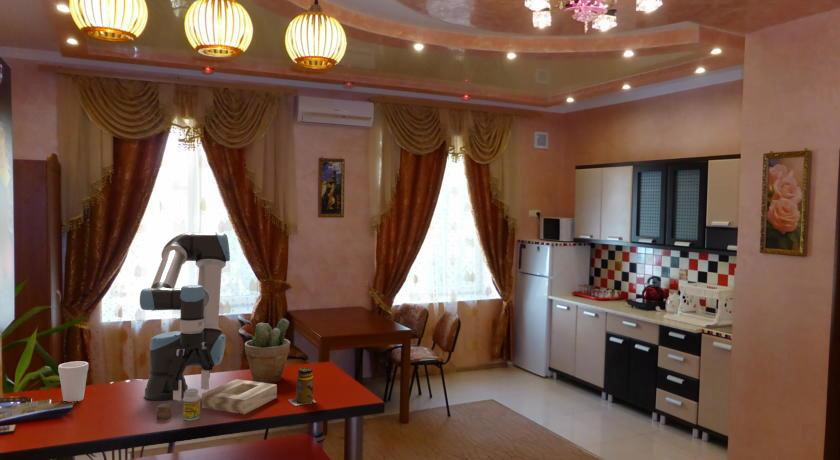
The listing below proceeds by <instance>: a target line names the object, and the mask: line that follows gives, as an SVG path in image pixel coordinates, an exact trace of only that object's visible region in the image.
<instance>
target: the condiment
mask: <svg viewBox="0 0 840 460" xmlns="http://www.w3.org/2000/svg"><path fill="white" fill-rule="evenodd" d="M312 399H313V400H312ZM288 402H290V404H292V405H293V406H296V407H297V406H300V405H308V404H314V403H317V401H316V400H315V399H314V376H313V369H312V368H310V367H300V368H299V369H297V377H296V398H290V399H288ZM312 402H313V403H312ZM297 403H298V404H297ZM299 403H300V404H299Z"/></svg>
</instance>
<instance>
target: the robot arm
mask: <svg viewBox="0 0 840 460" xmlns="http://www.w3.org/2000/svg"><path fill="white" fill-rule="evenodd" d="M229 245H230V244H229V237H228V235H227V233H223V232H215V231H214V232H190V231H188V232H184V233H181V234H178V235H177V236H174V237H173V238H172V239H171V240H169V241H168V242H167V243H166V244H165V246H164V247H163V248H162V251H161V261H160V264H159V266H158V269H157V270H156V271H157V272H156V274H155V276H154V279H153V281H152V284H151V286H150V287H148V288H143V289H141V291H140V293H139V306H140V308H141V310H144V311H153V312H154V311H180V318H179V331H178V330H175V331H167V332H162V333H159V334H156V335H155V336H153V337H151V339H150V340H149V341H150V343H149V349H148V350H149V377H148V379H147V384H146V386H145V388H144V398H146V399H148V400H149V401H169V400H170V401H171V400H173V401H178V402H180V401H182V398H184V392H185V391H186V390H188V389H189V386H188V384H187V382H186V378H185V375H184V371H185V369H186V368H187V367H188V368H191V367H201V368H202V369H201V371H200V373H201V375H200V376H201V377H200V389H201V390H206V391H209V390H210V377H211V375H210V374H211V373H210V372H211V371H213V367H215V366H218V365H221V363H222V361H223V359H224V353H225V348H226V342H227V341H226V335H225V334H223V329H222V328H220V327H219V322H220V321H219V319H220V318H219V317H220V301H221V300H220V299H221V287H222V286H221V282H222V281H221V280H222V270H223V269H224V268H225V267H226V265H227V263H226V262H229V261H231V254H230V253H231V252H230V246H229ZM186 262H195V266H196V267H197V268H198V279H197V281H198V282H197V284H189V285H188V284H187V285H183V286H181V288H179V287H178V288H175V286H176V284H177V281H178V278H179V275H180V272H181V270H182V266H183V265H184V264H185V263H186Z"/></svg>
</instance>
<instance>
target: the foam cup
mask: <svg viewBox="0 0 840 460" xmlns="http://www.w3.org/2000/svg"><path fill="white" fill-rule="evenodd" d="M57 366H58V367H57V368H58V369H57V371H58V372H57V373H58V374H59V381H60V388H61V395H62V400H63V402H64V401H75V402H74V403H77V402H76V401H78V402H81V401H83V400H84V396H85V393H86V392H85V390H86V382H87V377H88V371H89V362H87V361H81V360H80V361H78V360H77V361H69V362H64V363H60V364H59V365H57Z"/></svg>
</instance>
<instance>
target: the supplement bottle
mask: <svg viewBox="0 0 840 460" xmlns="http://www.w3.org/2000/svg"><path fill="white" fill-rule="evenodd" d="M198 394H199V389H197V388H188V390H186V391H185V395H186V396H185V397H184V396H183V397H182V411H183V412H182V414H183V415H182V416H183V420H185V421H190V422H191V421H196V420H198V419H200V417H201V396H200V395H198Z"/></svg>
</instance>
